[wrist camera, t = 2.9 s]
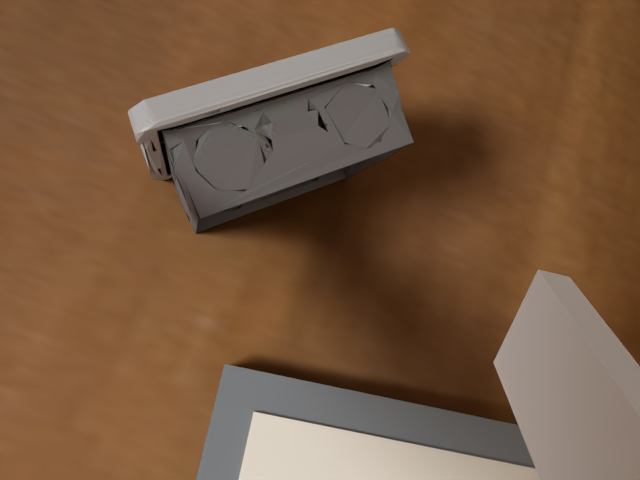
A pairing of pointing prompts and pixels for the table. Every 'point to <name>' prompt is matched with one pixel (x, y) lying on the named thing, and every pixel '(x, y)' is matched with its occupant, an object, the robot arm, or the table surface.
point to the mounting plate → (349, 436)
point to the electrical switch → (276, 128)
